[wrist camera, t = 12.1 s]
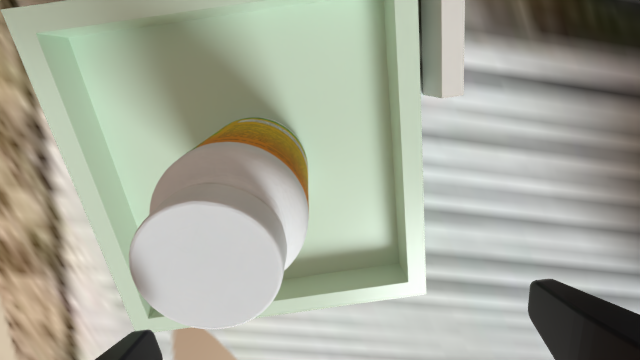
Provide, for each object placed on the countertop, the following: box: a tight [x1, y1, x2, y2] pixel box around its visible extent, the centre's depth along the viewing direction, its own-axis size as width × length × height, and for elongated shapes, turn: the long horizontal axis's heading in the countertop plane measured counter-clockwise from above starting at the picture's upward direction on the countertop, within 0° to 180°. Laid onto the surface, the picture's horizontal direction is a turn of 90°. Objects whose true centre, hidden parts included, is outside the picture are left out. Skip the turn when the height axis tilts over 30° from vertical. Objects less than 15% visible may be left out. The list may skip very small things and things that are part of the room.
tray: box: [1, 0, 426, 332], centre depth 17 cm, size 17×17×2 cm
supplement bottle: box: [129, 117, 309, 329], centre depth 13 cm, size 5×5×10 cm
